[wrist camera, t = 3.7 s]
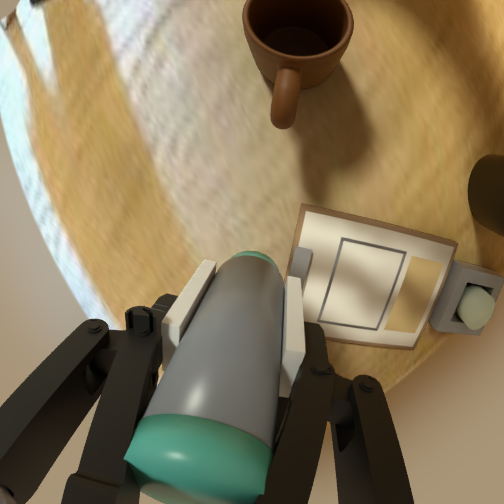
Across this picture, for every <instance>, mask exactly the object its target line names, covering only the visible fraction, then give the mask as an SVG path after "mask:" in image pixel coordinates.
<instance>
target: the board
mask: <svg viewBox="0 0 504 504" xmlns="http://www.w3.org/2000/svg"><path fill="white" fill-rule="evenodd" d="M457 246H458V243H456V242H455V241H451V240H448V239H445V238H441V237H438V236H434V235H431V234H427V233H423V232H420V231H416V230H412V229H409V228H405V227H401V226H397V225H393V224H390V223H386V222H382V221H378V220H373V219H369V218H365V217H361V216H357V215H353V214H348V213H344V212H339V211H335V210H331V209H326V208H321V207H317V206H312V205H307V204H302V203H301V207H300V212H299V217H298V222H297V226H296V231H295V236H294V240H293V245H292V249H291V254H290V258H289V263H288V267H287V272H286V276H285V280H284V289H285V285H286V280H287V276H292V277H297V278H301V290H302V304H303V318H304V321H305V322H311V323H317V324H320V326H321V327H322V329H323V330H324V334H325V340H332V341H339V342H346V343H354V344H362V345H370V346H379V347H388V348H399V349H409V350H414V349H415V347H416V345H417V343H418V341H419V339H420V337H421V335H422V333H423V331H424V329H425V327H426V325H427V322H428V320H429V318H430V316H431V314H432V311H433V309H434V307H435V305H436V302H437V300H438V297H439V295H440V293H441V290H442V288H443V285H444V283H445V280H446V277H447V275H448V272H449V269H450V266H451V264H452V261H453V258H454V255H455V252H456V249H457Z"/></svg>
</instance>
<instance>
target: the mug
mask: <svg viewBox="0 0 504 504" xmlns="http://www.w3.org/2000/svg"><path fill="white" fill-rule="evenodd" d="M242 19H243V26H244V32H245V36H246V39H247V42H248V44H249V47H250V50H251V52H252V55H253V57H254V60H255V62H256V65H257V67H258V69H259V70H260V71H261V73H262V74H263V75H264V76H265V77H266V78H267V79H268V80H269V81H271V82H273V83H274V84H275V86H274V91H273V97H272V104H271V113H270V116H271V122H272V124H273V125H274V126H275V127H276V128H279V129H287V128H290V127H291V126H292V125H293V123H294V120H295V115H296V110H297V104H298V98H299V92H300V89H307V88H311V87H314V86H316V85H318V84H320V83H322V82H323V81H324V80H326V79H327V78H328V77H329V75H330V74H331V73H332V71H333V70H334V68H335V67H336V65H337V64H338V62H339V60H340V59H341V57H342V55H343V54H344V52H345V50H346V49H347V47H348V44H349V42H350V39H351V36H352V33H353V28H354V20H353V15H352V12H351V10H350V8H349V6H348V4H347V3H346V1H345V0H247V1H246V3H245V5H244V8H243V13H242Z"/></svg>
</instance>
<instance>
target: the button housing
mask: <svg viewBox="0 0 504 504" xmlns="http://www.w3.org/2000/svg"><path fill="white" fill-rule="evenodd" d="M467 282H469V283H473V284H478V285H481V288H483V289H484V290H485V291H486V292H487V293H488V294H489V295H490V296H492V297H493V299H494V301H495V302H496V300H497V298H498V295H499V293H500V291H501V288H502V286H503V283H504V277H503V276H501V275H500V274H499V273H497V272H496V271H495V270H491V269H488V268H484V267H480V266H477V265H473V264H469V263H466V262H462V261H458V260H454V259H453V261H452V264H451V266H450V269H449V272H448V275H447V277H446V280H445V283H444V285H443V288H442V290H441V293H440V295H439V297H438V300H437V302H436V305H435V307H434V309H433V311H432V314H431V316H430V318H429V320H428V321H429V322H430V324H431V325H432V327H433V328H434V329H435V331H438V332H448V333H459V334H469V335H480V333H481V331H482V330H483V328H484V326H485V325H484V326H483V327H481V328H479V329H477V330H471V329H469V328H468V326H467V325H466V324H465V323H464V322H463V320H462V319H461V318H460V317H459V316H458V315H457V313H454V312H455V310H456V308H457V306H458V303H459V301H460V299H461V296H462V294H463V292H464V289H465V287H466V284H467Z"/></svg>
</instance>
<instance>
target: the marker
mask: <svg viewBox="0 0 504 504" xmlns="http://www.w3.org/2000/svg"><path fill="white" fill-rule="evenodd" d="M283 311H284V282H283V278H282V276H281V274H280V273H279V270H278V267H277V265H276V264H275V262H274V261H273V260H272V259H271V258H270V257H268V256H267V255H265V254H263V253H260V252H256V251H244V252H240V253H238V254H236V255H234V256H233V257H232V258H231V259H229V260H228V261H226V262H225V263H223V264H222V265H221V266H220V268H219V269H218V271H217V273H216V274H215V276H214V278H213V280H212V282H211V284H210V286H209V288H208V289H207V291H206V293H205V295H204V297H203V299H202V301H201V303H200V305H199V306H198V308H197V310H196V312H195V314H194V316H193V318H192V320H191V322H190V324H189V325H188V327H187V329H186V331H185V333H184V335H183V337H182V339H181V341H180V343H179V345H178V347H177V349H176V351H175V353H174V354H173V356H172V358H171V360H170V362H169V364H168V366H167V368H166V370H165V372H164V374H163V376H162V378H161V380H160V382H159V384H158V386H157V388H156V390H155V392H154V394H153V396H152V398H151V400H150V402H149V404H148V406H147V408H146V410H145V412H144V414H143V416H142V418H141V420H140V421H139V422H138V423H137V426H136V428H135V431H134V434H133V438H132V441H131V444H130V446H129V448H128V450H127V453H126V455H125V457H124V460H127V461H128V463H129V466H130V468H131V470H132V473H133V475H134V477H135V479H136V482H137V484H138V486H139V488H140V491H141V492H143V493H145V494H146V495H148V496H150V497H152V498H154V499H156V500H158V501H160V502H163V503H165V504H253V503H254V502H255V500H256V499H257V497H258V496H259V494H263V495H264V490H265V481H266V477H267V474H268V471H269V468H270V465H271V462H272V459H273V456H274V452H275V444H276V432H277V418H278V405H279V390H280V373H281V353H282V333H283Z"/></svg>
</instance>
